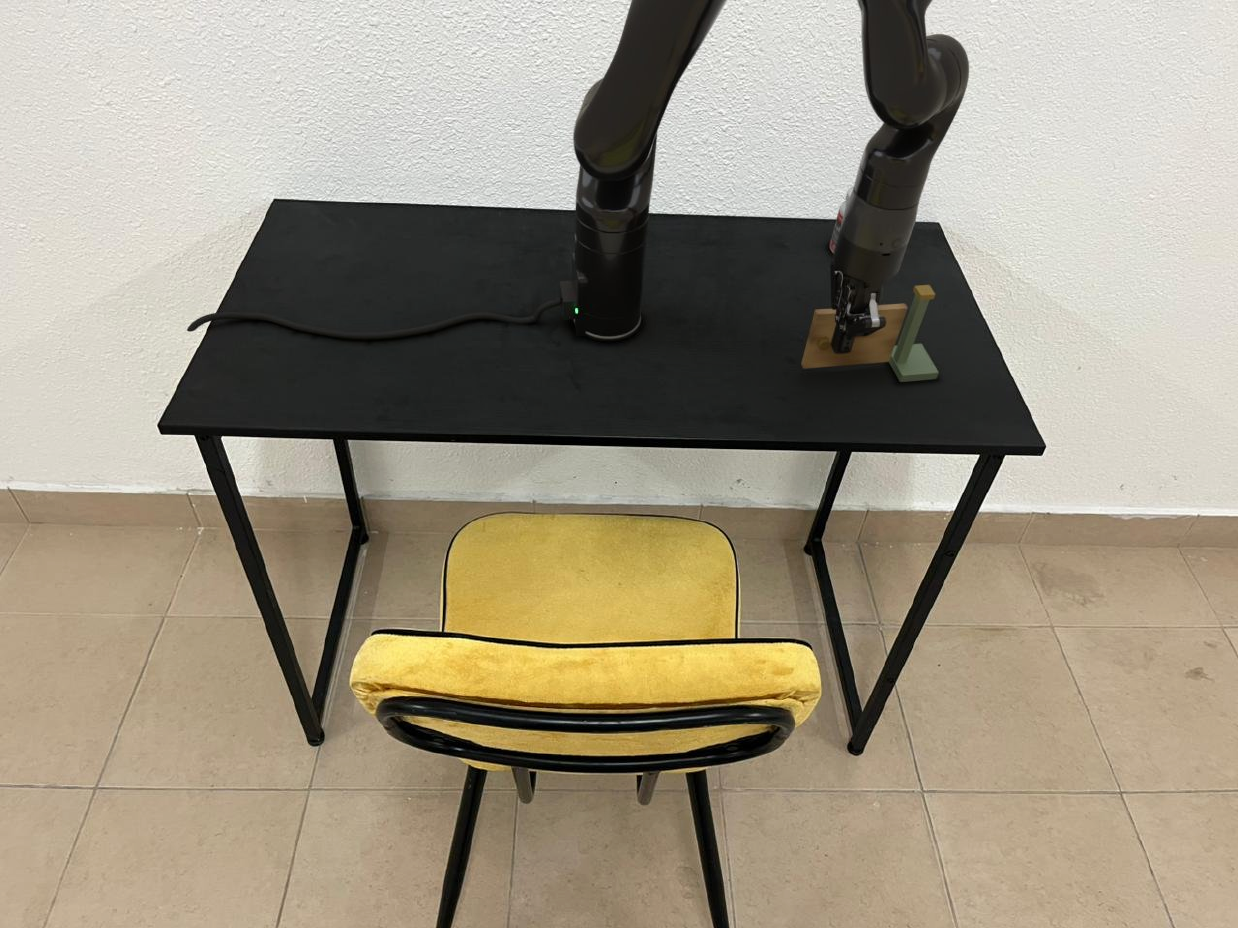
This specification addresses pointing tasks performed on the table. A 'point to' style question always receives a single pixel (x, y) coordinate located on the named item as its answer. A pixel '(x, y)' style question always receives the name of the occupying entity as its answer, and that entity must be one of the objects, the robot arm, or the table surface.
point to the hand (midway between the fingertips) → (840, 350)
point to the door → (863, 349)
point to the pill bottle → (839, 221)
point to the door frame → (911, 357)
